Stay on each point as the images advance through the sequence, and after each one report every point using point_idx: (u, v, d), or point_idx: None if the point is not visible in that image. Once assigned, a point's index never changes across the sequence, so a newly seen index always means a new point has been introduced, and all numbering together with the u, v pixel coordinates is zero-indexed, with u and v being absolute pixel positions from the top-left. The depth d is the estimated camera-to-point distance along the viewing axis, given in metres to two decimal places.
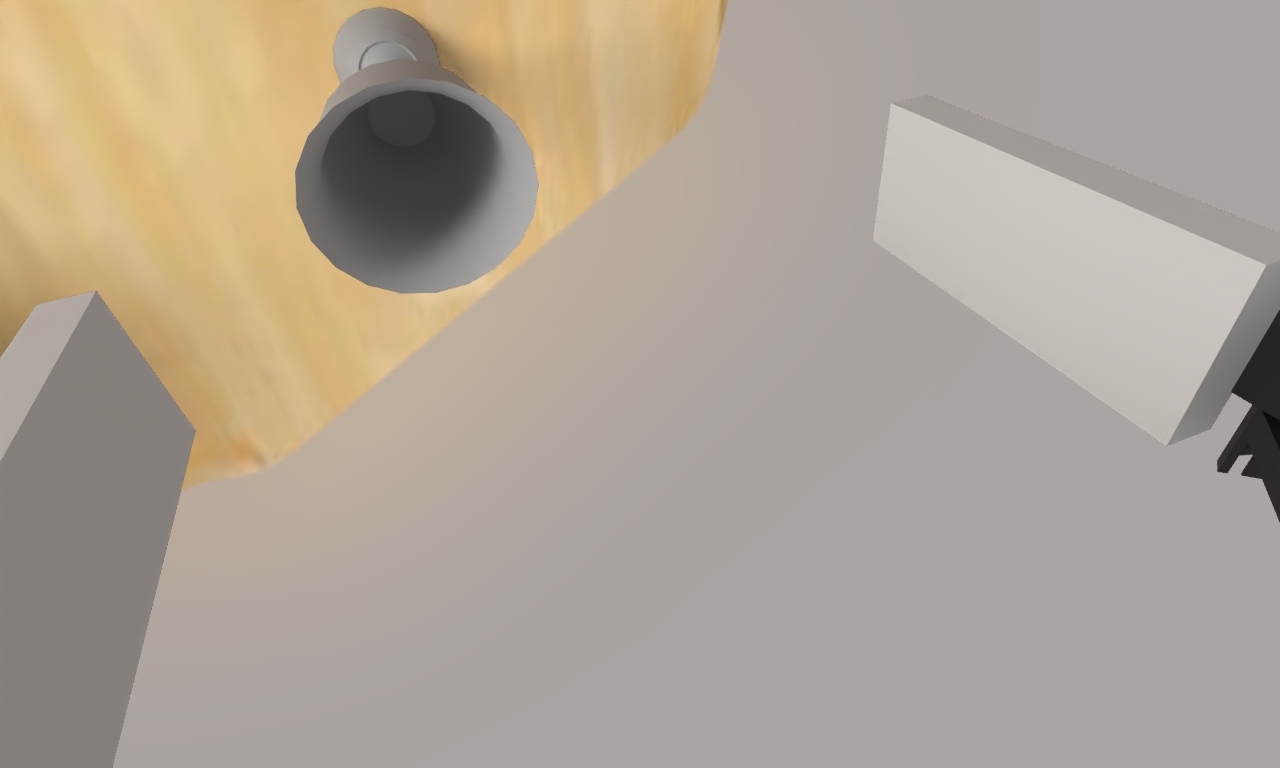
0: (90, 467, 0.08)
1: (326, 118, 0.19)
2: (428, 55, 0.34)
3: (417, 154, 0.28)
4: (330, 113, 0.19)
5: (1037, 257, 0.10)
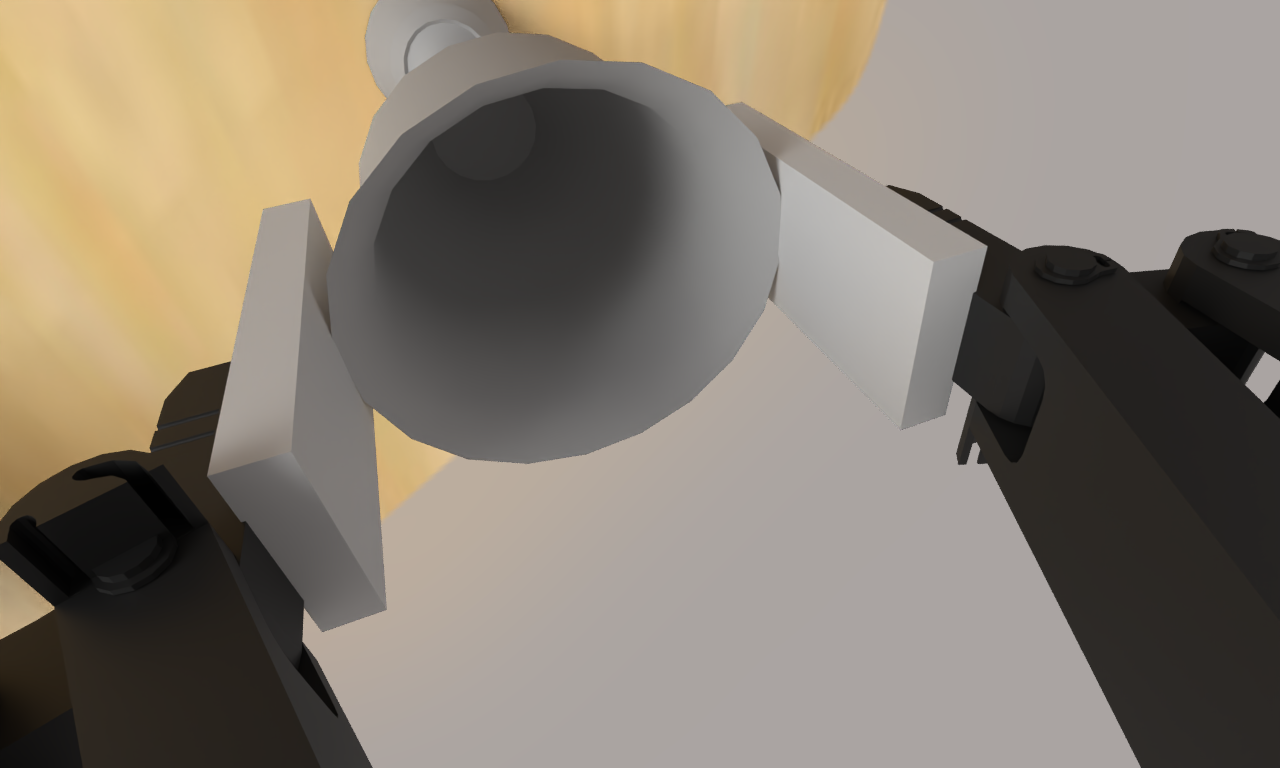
0: None
1: (387, 160, 0.09)
2: None
3: (509, 191, 0.18)
4: (395, 149, 0.09)
5: (807, 255, 0.11)
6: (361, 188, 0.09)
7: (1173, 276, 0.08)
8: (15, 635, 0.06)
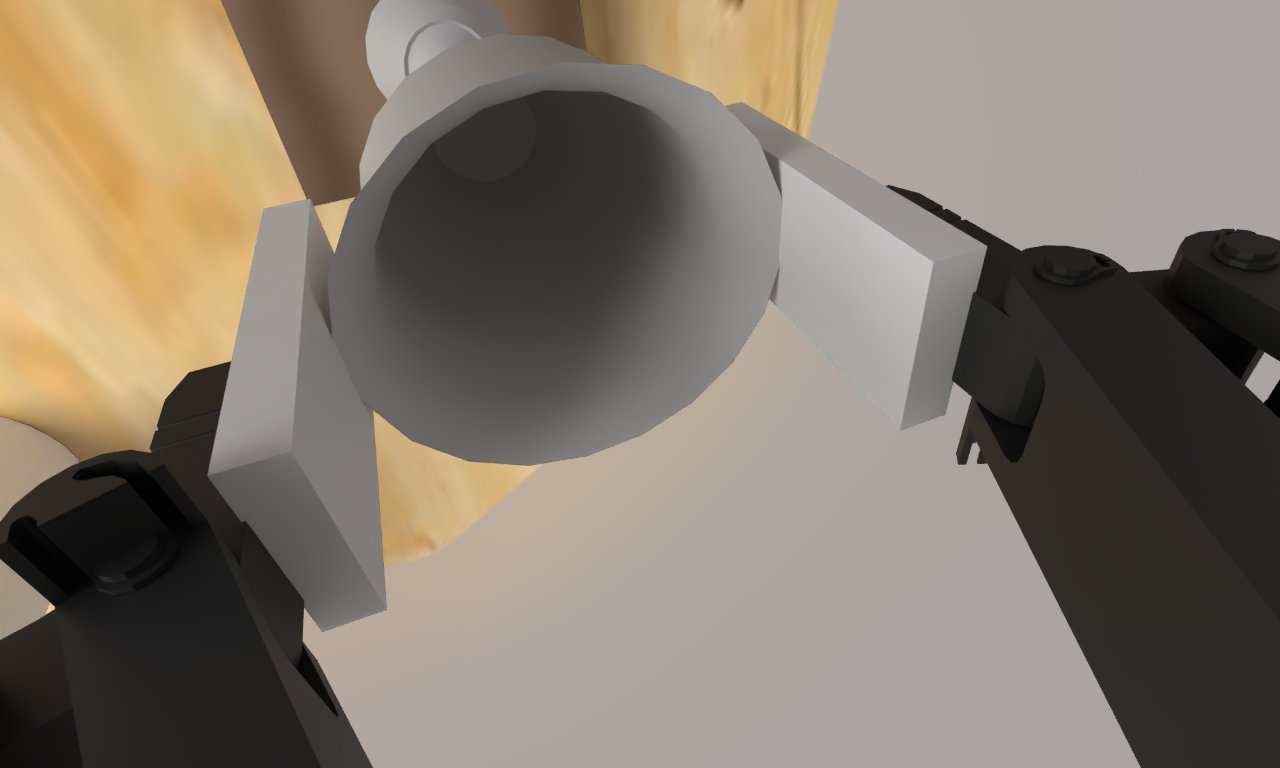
0: None
1: (388, 163, 0.09)
2: None
3: (509, 192, 0.18)
4: (396, 151, 0.09)
5: (806, 255, 0.11)
6: (362, 190, 0.09)
7: (1173, 276, 0.08)
8: (16, 635, 0.06)
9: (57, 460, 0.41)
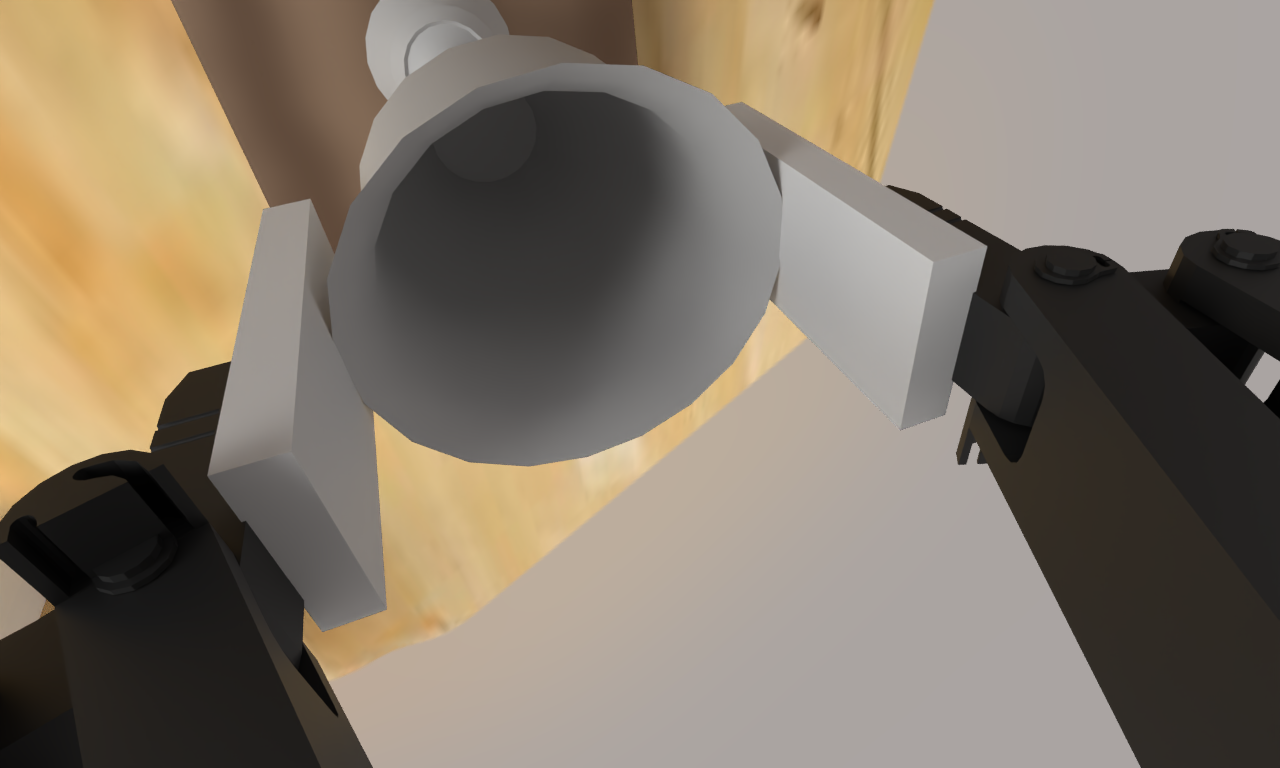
0: None
1: (388, 164, 0.09)
2: None
3: (510, 193, 0.18)
4: (396, 152, 0.09)
5: (806, 255, 0.11)
6: (362, 191, 0.09)
7: (1174, 276, 0.08)
8: (15, 635, 0.06)
9: (5, 566, 0.34)
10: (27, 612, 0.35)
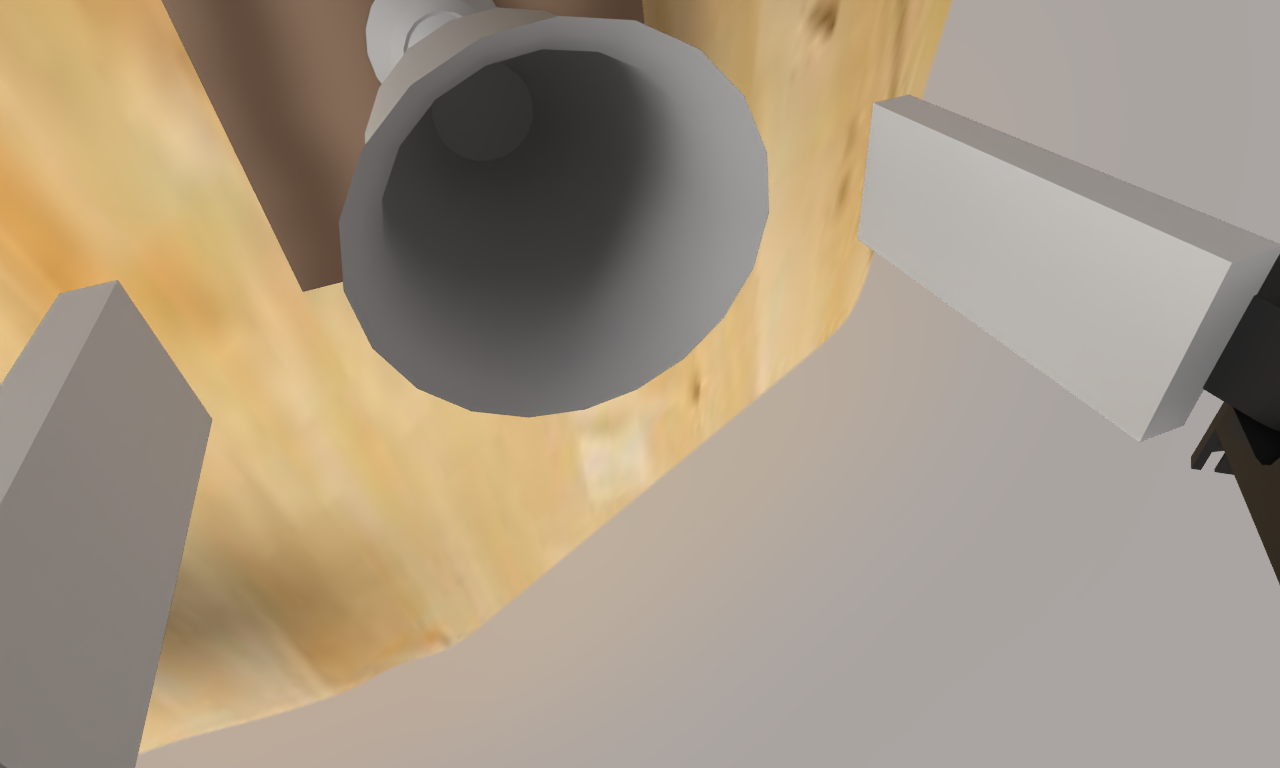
0: (115, 451, 0.08)
1: (397, 111, 0.09)
2: None
3: (507, 171, 0.18)
4: (404, 100, 0.09)
5: (1014, 255, 0.10)
6: (372, 137, 0.09)
7: None
8: None
9: None
10: None
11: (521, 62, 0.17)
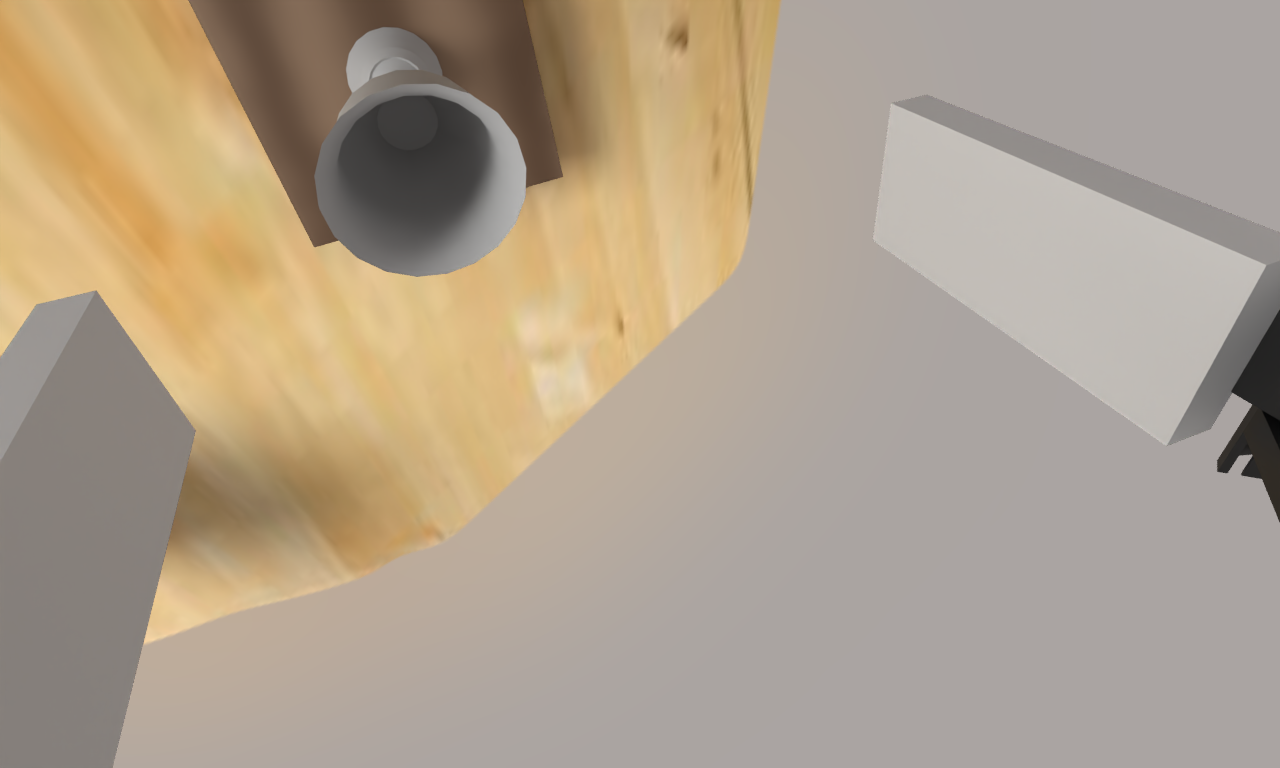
0: (90, 467, 0.08)
1: (335, 127, 0.22)
2: (430, 65, 0.37)
3: (425, 155, 0.31)
4: (338, 122, 0.22)
5: (1037, 257, 0.10)
6: (326, 138, 0.22)
7: None
8: None
9: None
10: None
11: None
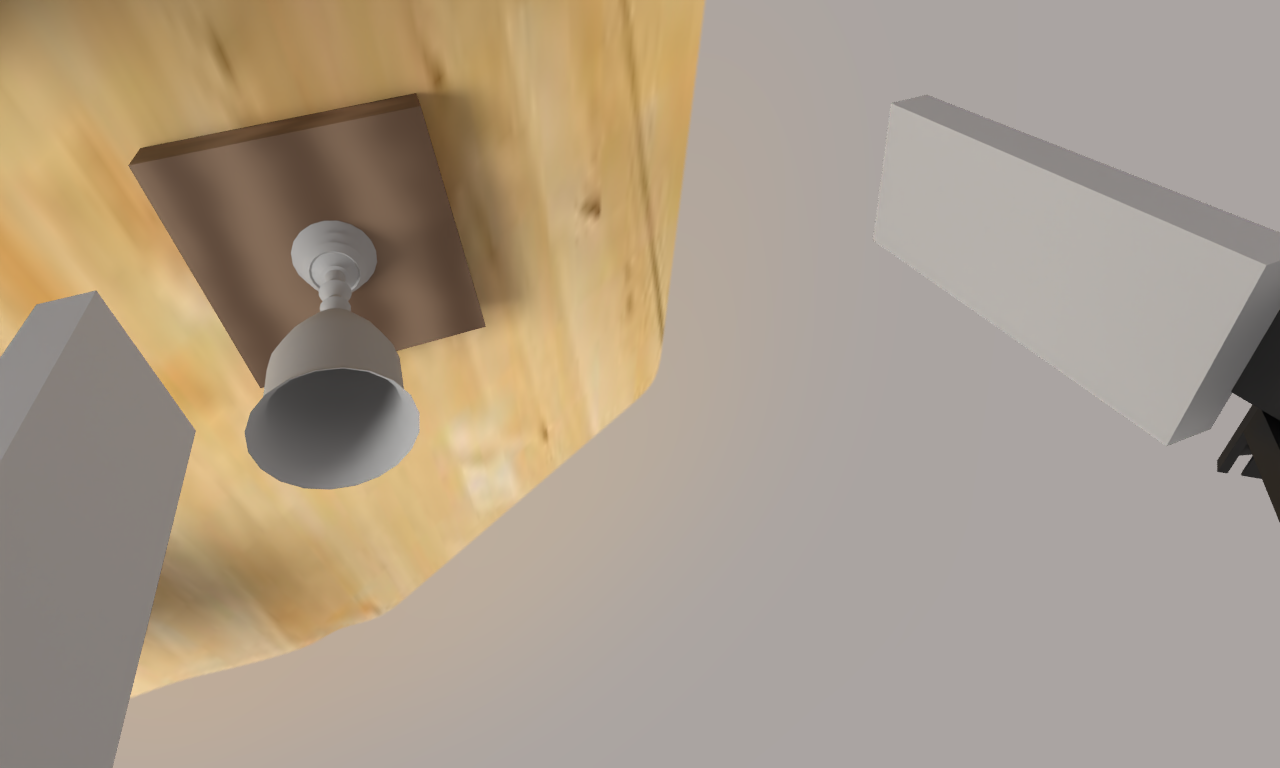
0: (90, 467, 0.08)
1: (262, 400, 0.28)
2: (364, 252, 0.43)
3: None
4: (264, 397, 0.28)
5: (1037, 257, 0.10)
6: (254, 408, 0.28)
7: None
8: None
9: None
10: None
11: None
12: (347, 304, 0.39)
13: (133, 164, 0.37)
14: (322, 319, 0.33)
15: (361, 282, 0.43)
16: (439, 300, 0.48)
